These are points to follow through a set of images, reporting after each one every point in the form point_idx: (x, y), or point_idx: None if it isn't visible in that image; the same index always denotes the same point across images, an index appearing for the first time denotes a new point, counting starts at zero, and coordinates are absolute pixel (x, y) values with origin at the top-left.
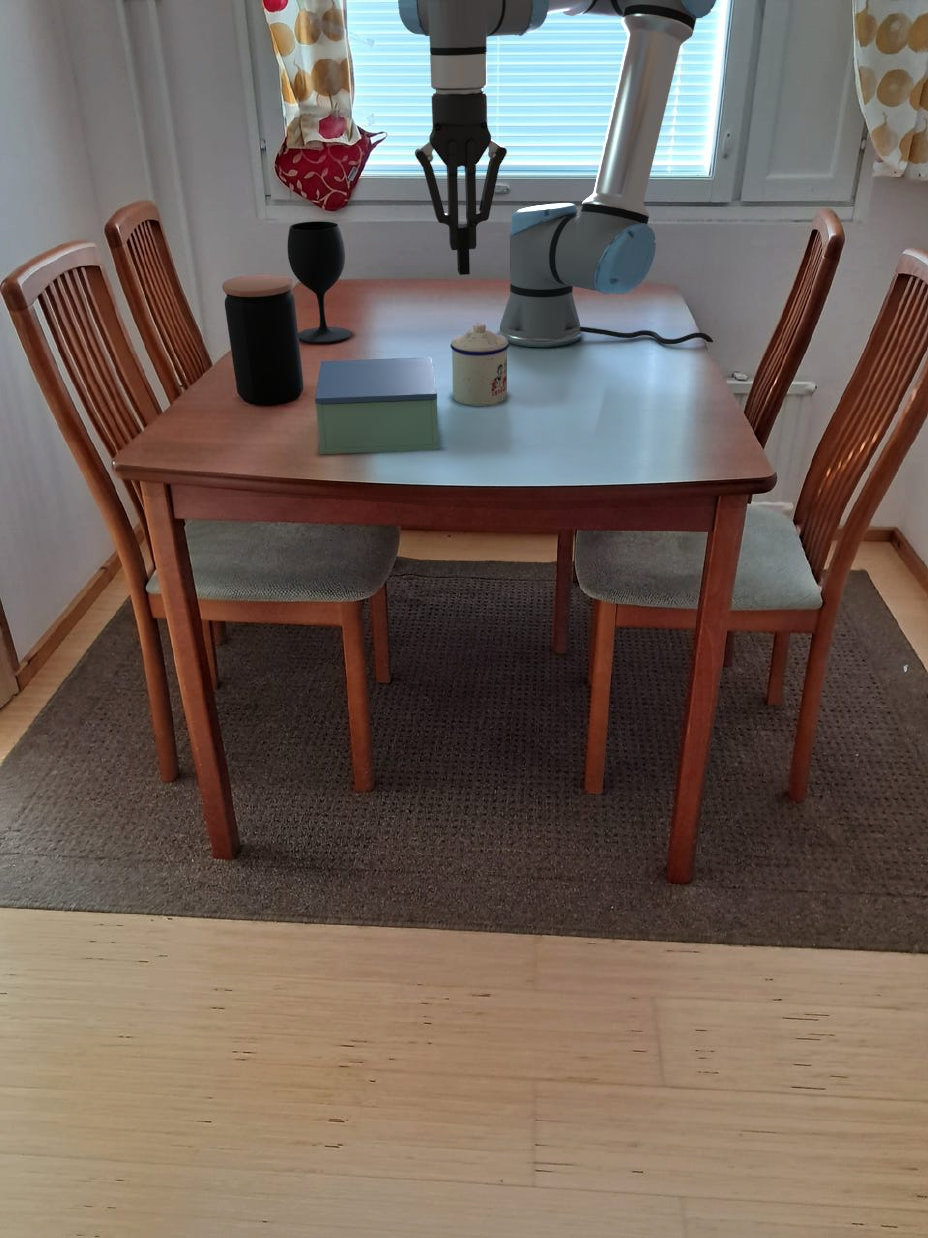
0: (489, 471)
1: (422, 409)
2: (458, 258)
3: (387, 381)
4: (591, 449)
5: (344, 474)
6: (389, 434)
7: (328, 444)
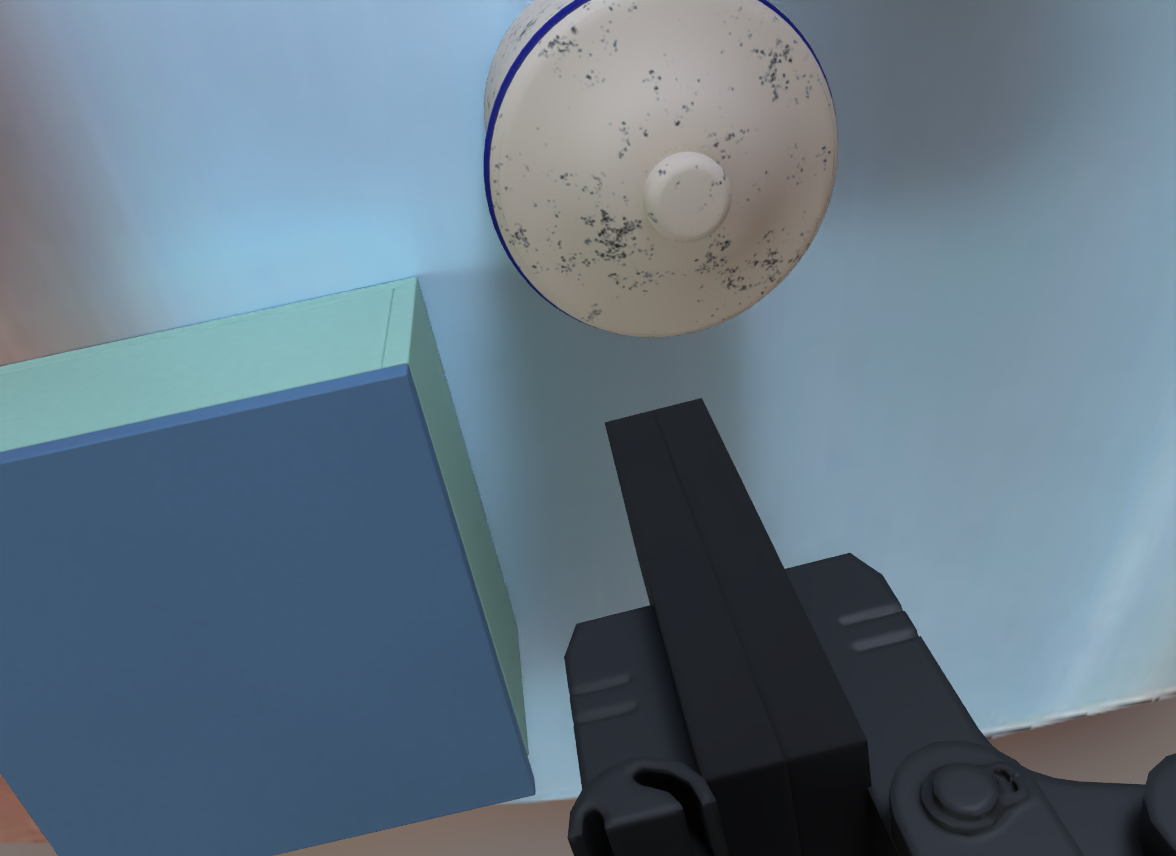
0: None
1: None
2: (649, 597)
3: (300, 714)
4: (986, 558)
5: None
6: None
7: None
